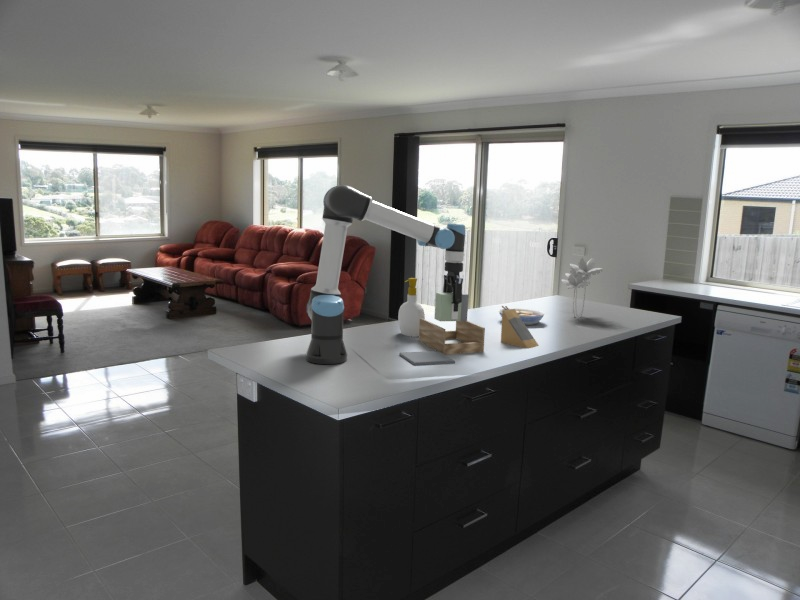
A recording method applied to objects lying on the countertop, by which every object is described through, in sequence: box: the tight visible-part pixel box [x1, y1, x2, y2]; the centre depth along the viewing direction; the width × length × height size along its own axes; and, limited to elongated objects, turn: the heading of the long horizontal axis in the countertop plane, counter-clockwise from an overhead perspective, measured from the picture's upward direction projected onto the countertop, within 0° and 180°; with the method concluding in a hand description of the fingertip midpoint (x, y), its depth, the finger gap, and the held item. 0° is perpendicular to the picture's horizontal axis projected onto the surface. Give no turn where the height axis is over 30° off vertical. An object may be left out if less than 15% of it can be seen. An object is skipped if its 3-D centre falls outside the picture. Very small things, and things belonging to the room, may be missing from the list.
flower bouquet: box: [560, 256, 604, 318], centre depth 315 cm, size 17×34×21 cm
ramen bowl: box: [498, 305, 545, 326], centre depth 300 cm, size 25×23×8 cm
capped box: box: [434, 291, 470, 322], centre depth 245 cm, size 12×6×11 cm, turn 110°
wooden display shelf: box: [418, 318, 486, 355], centre depth 247 cm, size 18×25×10 cm
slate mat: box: [399, 350, 456, 366], centre depth 225 cm, size 16×16×1 cm
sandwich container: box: [500, 309, 539, 349], centre depth 253 cm, size 9×15×15 cm, turn 42°
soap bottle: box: [397, 277, 426, 338], centre depth 264 cm, size 14×9×26 cm, turn 45°
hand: (450, 317), depth 246 cm, fingers closed on capped box, 6 cm apart
